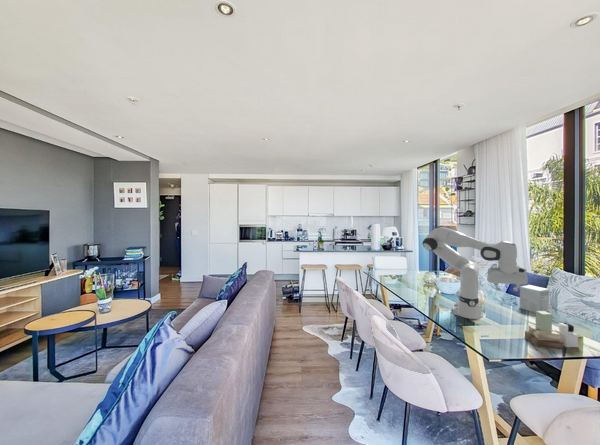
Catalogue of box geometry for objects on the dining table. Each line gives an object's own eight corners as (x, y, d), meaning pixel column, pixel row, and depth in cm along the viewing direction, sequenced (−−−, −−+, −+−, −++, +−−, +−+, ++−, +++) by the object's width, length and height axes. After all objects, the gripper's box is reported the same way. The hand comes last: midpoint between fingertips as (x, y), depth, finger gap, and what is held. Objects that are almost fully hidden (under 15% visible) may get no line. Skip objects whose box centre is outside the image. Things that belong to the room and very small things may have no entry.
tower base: (524, 338, 162) (525, 330, 162) (547, 340, 160) (548, 332, 160) (537, 347, 151) (537, 340, 151) (562, 350, 148) (563, 342, 148)
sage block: (535, 327, 158) (535, 310, 158) (544, 327, 157) (545, 311, 157) (542, 331, 153) (542, 314, 153) (551, 331, 152) (552, 314, 152)
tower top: (528, 331, 161) (528, 325, 161) (547, 333, 159) (547, 326, 159) (539, 339, 151) (539, 332, 151) (559, 341, 149) (560, 334, 149)
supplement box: (549, 311, 204) (550, 289, 203) (539, 313, 199) (539, 290, 199) (529, 305, 217) (529, 284, 216) (518, 307, 212) (519, 286, 211)
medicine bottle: (565, 341, 158) (566, 321, 157) (578, 347, 151) (579, 326, 150) (553, 341, 157) (554, 321, 157) (566, 347, 150) (566, 326, 150)
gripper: (490, 268, 160) (489, 291, 160) (529, 270, 155) (529, 293, 156) (485, 266, 166) (484, 288, 166) (523, 267, 161) (522, 290, 162)
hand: (506, 290), depth 161 cm, fingers open, 8 cm apart
